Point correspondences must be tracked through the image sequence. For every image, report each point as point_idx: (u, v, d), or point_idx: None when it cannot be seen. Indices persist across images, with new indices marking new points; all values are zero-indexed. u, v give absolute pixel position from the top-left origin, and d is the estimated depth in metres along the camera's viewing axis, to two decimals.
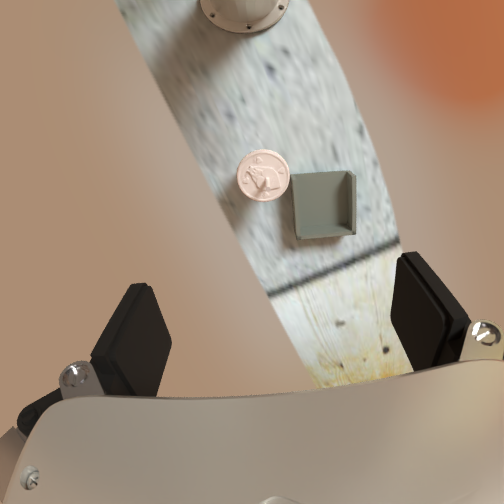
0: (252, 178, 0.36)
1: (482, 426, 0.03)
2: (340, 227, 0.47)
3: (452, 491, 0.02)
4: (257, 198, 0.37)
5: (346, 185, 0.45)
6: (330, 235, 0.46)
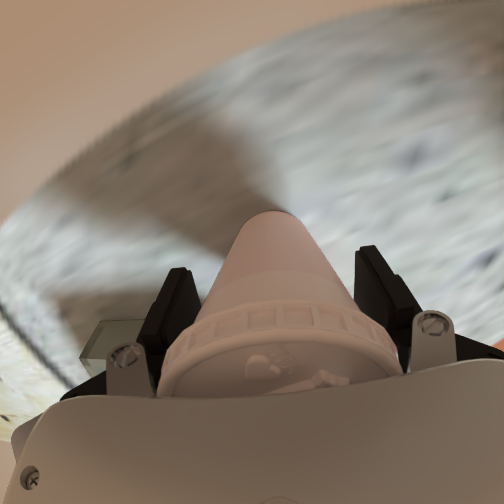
0: (275, 393, 0.06)
1: (482, 426, 0.03)
2: None
3: (452, 491, 0.02)
4: None
5: None
6: None
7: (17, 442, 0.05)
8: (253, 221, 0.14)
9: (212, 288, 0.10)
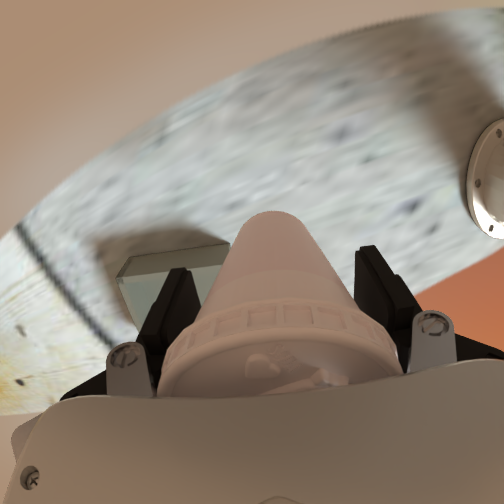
0: (275, 392, 0.06)
1: (482, 426, 0.03)
2: None
3: (452, 491, 0.02)
4: None
5: None
6: (138, 327, 0.25)
7: (17, 442, 0.05)
8: (253, 221, 0.14)
9: (212, 287, 0.10)
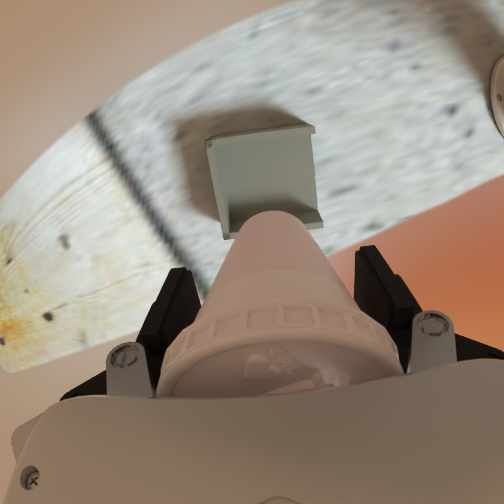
0: None
1: (482, 426, 0.03)
2: (228, 211, 0.29)
3: (452, 491, 0.02)
4: None
5: (295, 212, 0.30)
6: (218, 198, 0.27)
7: (17, 442, 0.05)
8: (253, 220, 0.14)
9: (212, 287, 0.09)
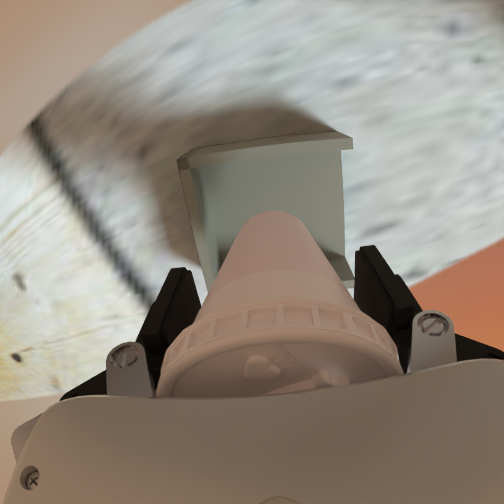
0: (275, 393, 0.06)
1: (482, 426, 0.03)
2: (217, 260, 0.20)
3: (452, 491, 0.02)
4: None
5: None
6: (200, 246, 0.18)
7: (17, 442, 0.05)
8: (253, 221, 0.14)
9: (212, 288, 0.09)
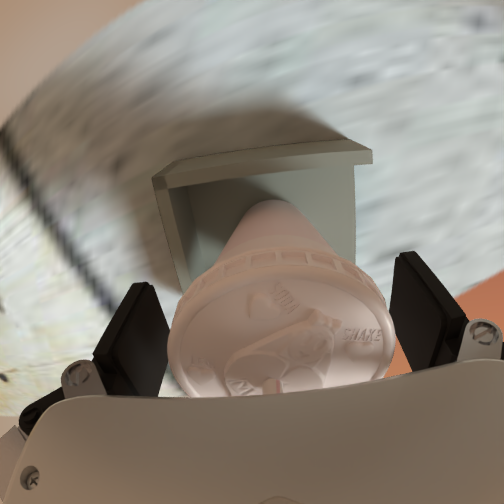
0: (276, 335, 0.07)
1: (482, 426, 0.03)
2: None
3: (452, 491, 0.02)
4: (179, 349, 0.08)
5: None
6: (183, 281, 0.15)
7: None
8: (254, 207, 0.15)
9: (218, 257, 0.11)
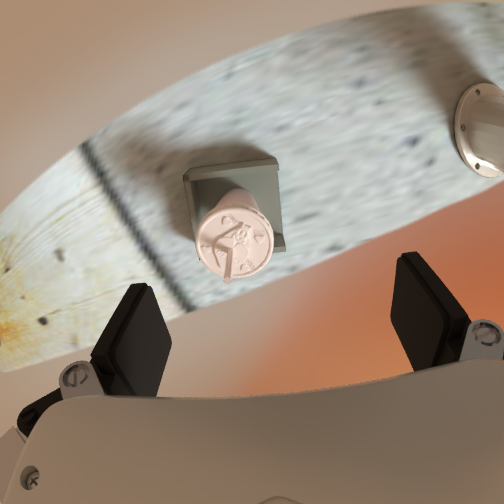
0: (230, 231, 0.24)
1: (482, 426, 0.03)
2: None
3: (452, 491, 0.02)
4: (199, 237, 0.24)
5: None
6: (194, 224, 0.31)
7: None
8: (228, 192, 0.32)
9: None
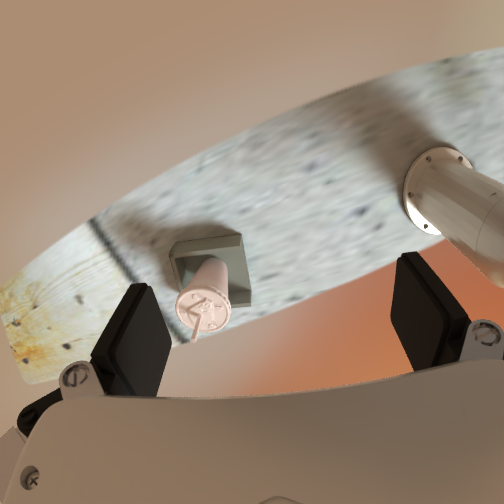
0: (198, 303, 0.34)
1: (482, 426, 0.03)
2: None
3: (452, 491, 0.02)
4: (178, 306, 0.34)
5: (235, 291, 0.45)
6: (180, 288, 0.41)
7: None
8: (205, 261, 0.41)
9: (189, 283, 0.37)
